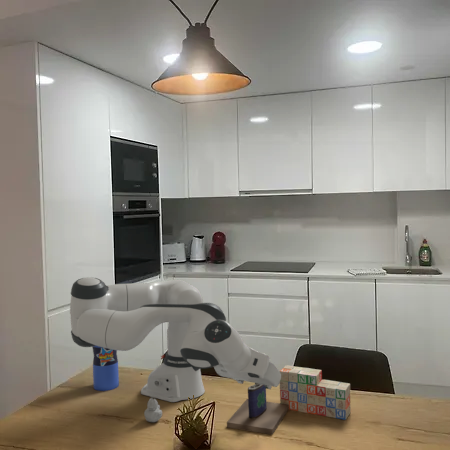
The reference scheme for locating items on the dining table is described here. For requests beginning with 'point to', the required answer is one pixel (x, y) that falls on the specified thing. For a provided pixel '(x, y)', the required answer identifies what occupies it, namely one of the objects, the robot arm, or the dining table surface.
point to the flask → (256, 400)
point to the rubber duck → (153, 411)
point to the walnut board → (258, 418)
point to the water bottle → (105, 369)
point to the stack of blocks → (314, 393)
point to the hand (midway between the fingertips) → (255, 383)
